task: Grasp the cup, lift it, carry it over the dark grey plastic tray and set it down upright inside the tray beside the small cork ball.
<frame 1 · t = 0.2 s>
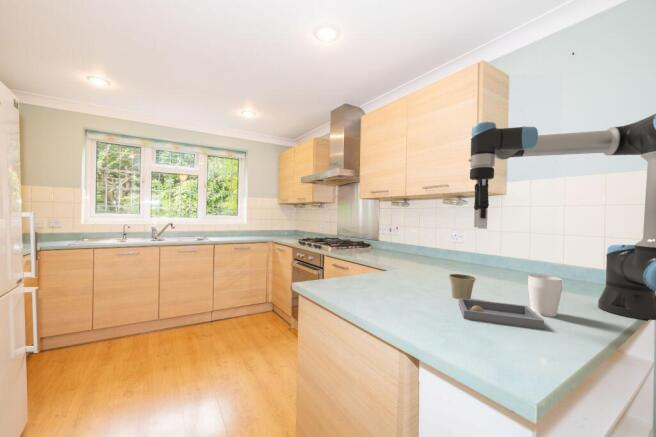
hand: (479, 228, 99), 27 cm above the worktop, fingers open, 13 cm apart
flower pot: (461, 299, 106), on the worktop
cup: (543, 313, 93), on the worktop
tray: (496, 317, 87), on the worktop
ball: (476, 317, 85), point 1 cm above the worktop, touching tray
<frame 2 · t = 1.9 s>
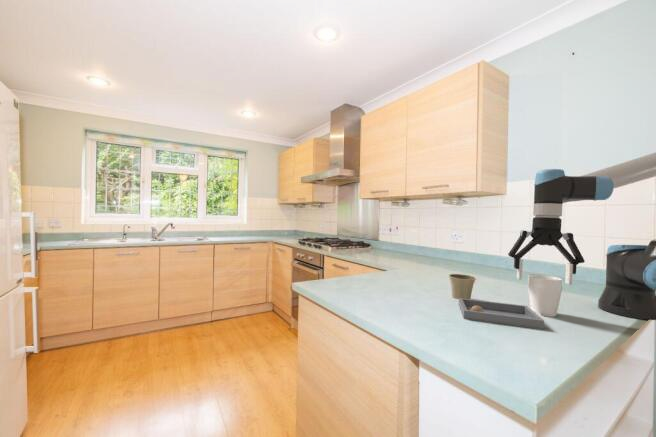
hand: (543, 281, 93), 11 cm above the worktop, fingers open, 13 cm apart
nothing on the worktop moved.
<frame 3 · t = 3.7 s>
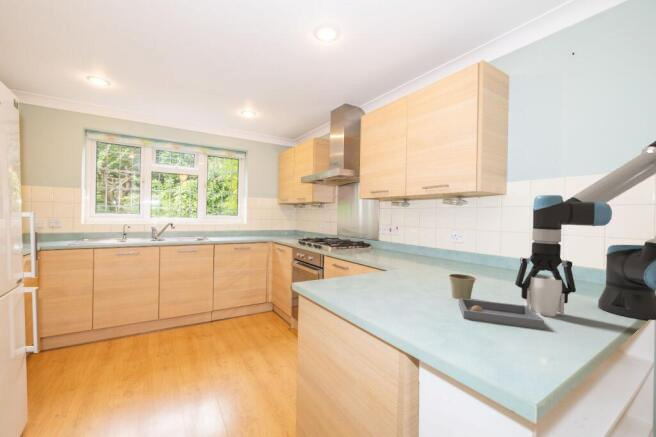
hand: (543, 310, 93), 1 cm above the worktop, fingers closed on cup, 9 cm apart
cup: (543, 313, 93), on the worktop, touching gripper
everything else where it was.
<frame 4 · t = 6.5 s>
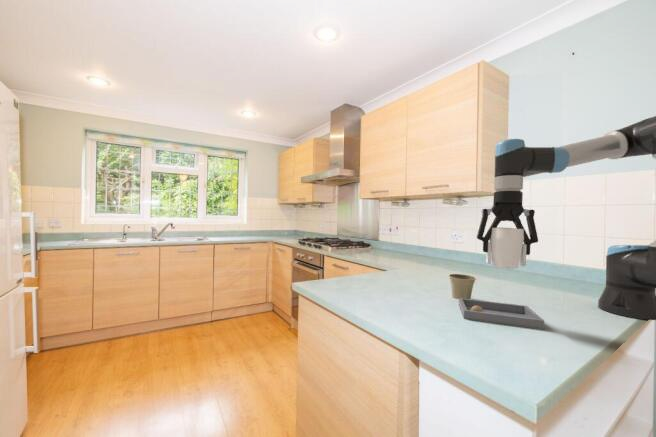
hand: (505, 264, 87), 17 cm above the worktop, fingers closed on cup, 9 cm apart
cup: (505, 267, 87), point 16 cm above the worktop, touching gripper
everything else where it was.
when the fingers open (3 cm above the worktop, at t = 9.7 s): cup drops 2 cm, resting on tray.
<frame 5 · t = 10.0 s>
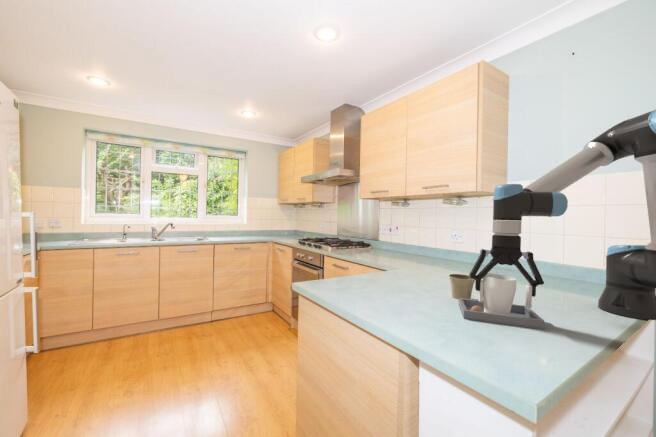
hand: (503, 304, 87), 4 cm above the worktop, fingers open, 12 cm apart
cup: (496, 315, 88), point 1 cm above the worktop, touching gripper, tray
everything else where it was.
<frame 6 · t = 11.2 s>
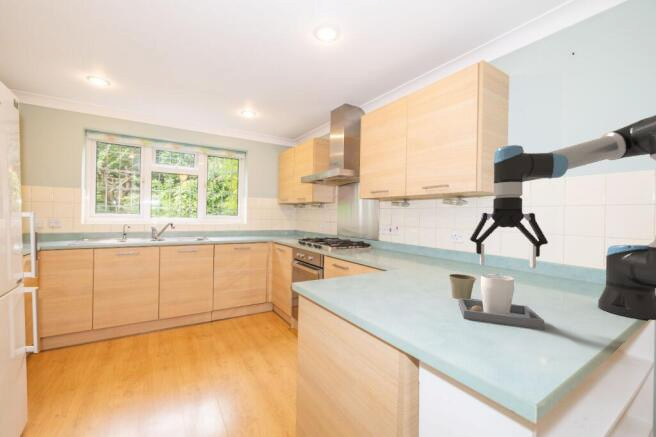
hand: (506, 266, 87), 16 cm above the worktop, fingers open, 13 cm apart
cup: (495, 315, 88), resting on tray
everything else where it was.
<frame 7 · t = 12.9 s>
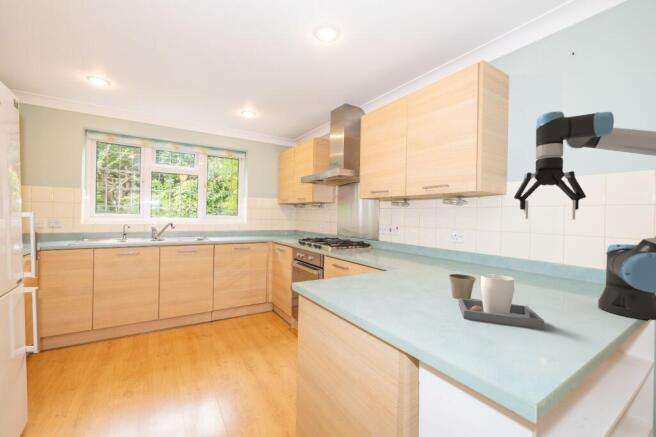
hand: (548, 219, 98), 31 cm above the worktop, fingers open, 13 cm apart
nothing on the worktop moved.
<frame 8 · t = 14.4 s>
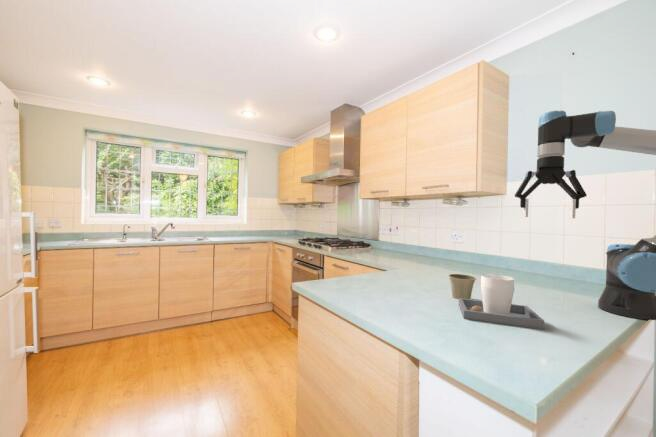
hand: (548, 217, 99), 32 cm above the worktop, fingers open, 13 cm apart
nothing on the worktop moved.
at the end: cup inside the target area on the tray (0.9 cm from its centre), point 0.4 cm above the tray's base; cup tilted 0°; the gripper is holding nothing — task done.
